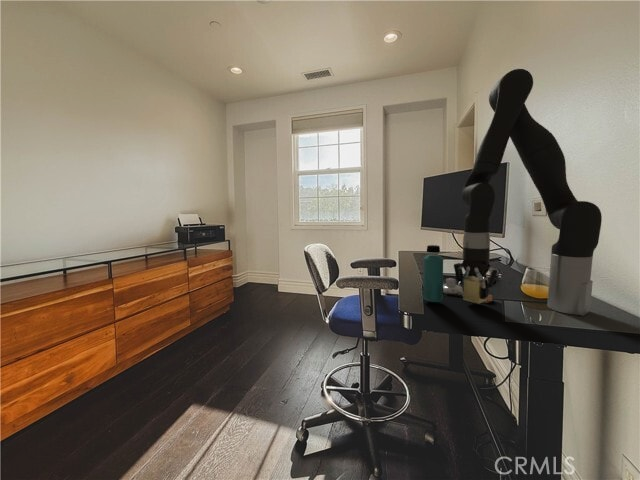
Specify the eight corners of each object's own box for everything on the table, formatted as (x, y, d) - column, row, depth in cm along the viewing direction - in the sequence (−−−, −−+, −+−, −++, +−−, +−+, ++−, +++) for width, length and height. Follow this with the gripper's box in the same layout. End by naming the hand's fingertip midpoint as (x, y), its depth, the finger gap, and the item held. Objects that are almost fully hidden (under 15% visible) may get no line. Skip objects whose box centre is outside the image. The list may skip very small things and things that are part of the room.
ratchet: (434, 291, 105) (435, 278, 104) (446, 287, 109) (447, 275, 108) (483, 304, 90) (484, 290, 89) (495, 299, 94) (495, 285, 93)
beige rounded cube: (486, 300, 89) (487, 279, 88) (478, 303, 86) (479, 282, 85) (471, 296, 93) (471, 276, 92) (463, 299, 90) (463, 279, 89)
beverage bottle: (446, 306, 89) (448, 246, 87) (426, 306, 89) (427, 247, 87) (437, 299, 96) (439, 243, 93) (419, 300, 96) (420, 244, 93)
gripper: (506, 246, 83) (504, 299, 85) (460, 242, 95) (460, 289, 97) (494, 249, 79) (492, 305, 81) (448, 245, 91) (447, 293, 93)
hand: (474, 296), depth 89 cm, fingers closed on beige rounded cube, 5 cm apart
